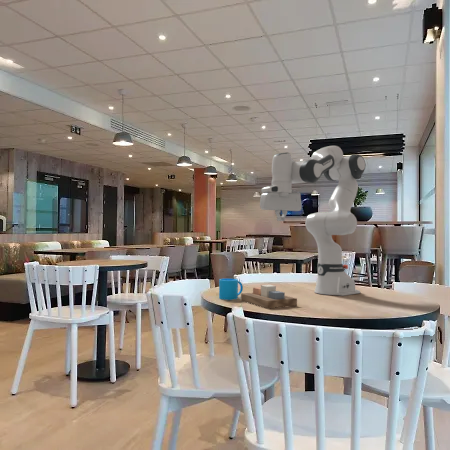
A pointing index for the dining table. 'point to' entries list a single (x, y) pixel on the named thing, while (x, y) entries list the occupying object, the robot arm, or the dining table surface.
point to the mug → (229, 289)
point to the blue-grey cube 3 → (276, 295)
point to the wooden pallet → (268, 301)
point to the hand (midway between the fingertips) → (281, 220)
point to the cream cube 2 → (267, 290)
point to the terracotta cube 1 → (257, 290)
